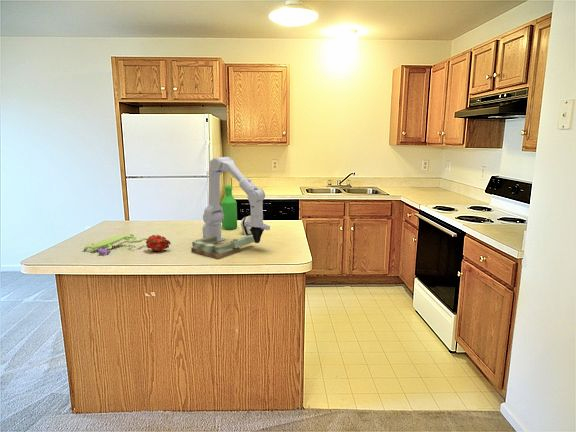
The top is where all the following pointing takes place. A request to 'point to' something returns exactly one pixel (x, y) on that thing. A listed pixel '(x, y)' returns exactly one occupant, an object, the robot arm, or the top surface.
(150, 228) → the top surface
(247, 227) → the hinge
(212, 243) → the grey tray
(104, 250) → the figurine
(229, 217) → the bottle
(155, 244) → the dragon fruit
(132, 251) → the top surface
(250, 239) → the hinged leg
